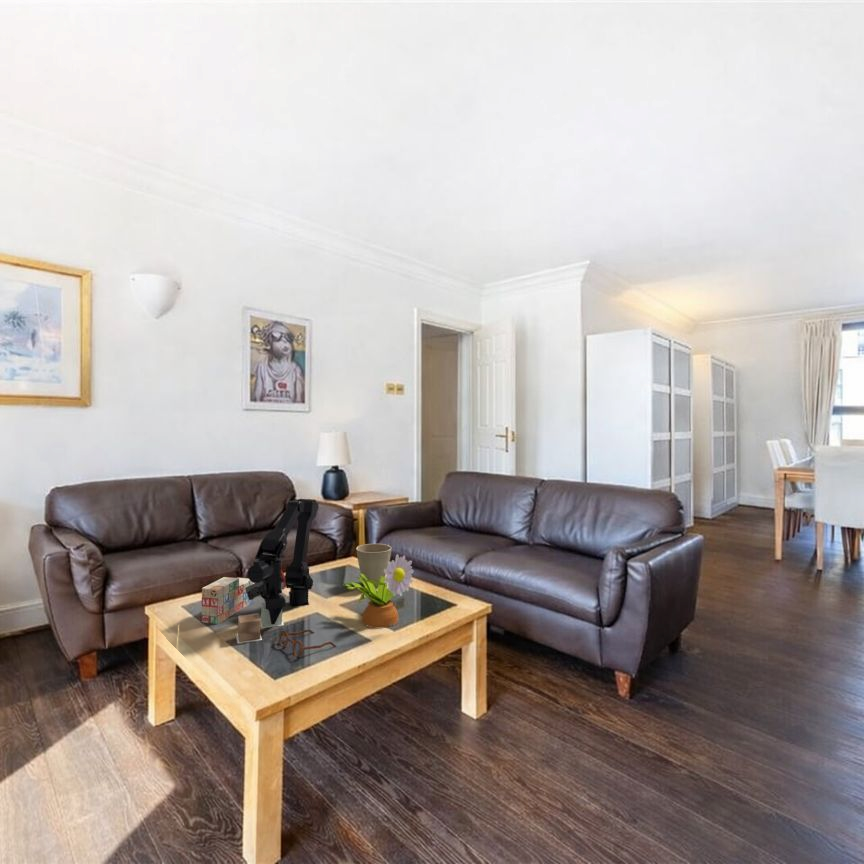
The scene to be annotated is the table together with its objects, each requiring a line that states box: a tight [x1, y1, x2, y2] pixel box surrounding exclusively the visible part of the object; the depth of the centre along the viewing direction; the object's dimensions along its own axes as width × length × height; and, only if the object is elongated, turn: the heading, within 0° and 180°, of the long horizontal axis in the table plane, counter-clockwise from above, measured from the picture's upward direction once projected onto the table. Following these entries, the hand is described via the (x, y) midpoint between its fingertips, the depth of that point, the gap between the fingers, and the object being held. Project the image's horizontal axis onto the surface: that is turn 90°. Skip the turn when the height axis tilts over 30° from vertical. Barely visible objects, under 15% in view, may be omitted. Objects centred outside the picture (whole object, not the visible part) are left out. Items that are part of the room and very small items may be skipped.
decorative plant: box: [342, 553, 414, 628], centre depth 175 cm, size 27×24×25 cm
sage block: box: [260, 602, 283, 628], centre depth 167 cm, size 6×6×6 cm
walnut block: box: [237, 612, 261, 643], centre depth 156 cm, size 6×6×6 cm
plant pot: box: [355, 543, 392, 588], centre depth 210 cm, size 15×15×16 cm
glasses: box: [278, 629, 338, 659], centre depth 152 cm, size 13×13×5 cm
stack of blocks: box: [200, 576, 253, 625], centre depth 176 cm, size 21×6×12 cm, turn 169°
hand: (271, 619), depth 167 cm, fingers open, 8 cm apart
